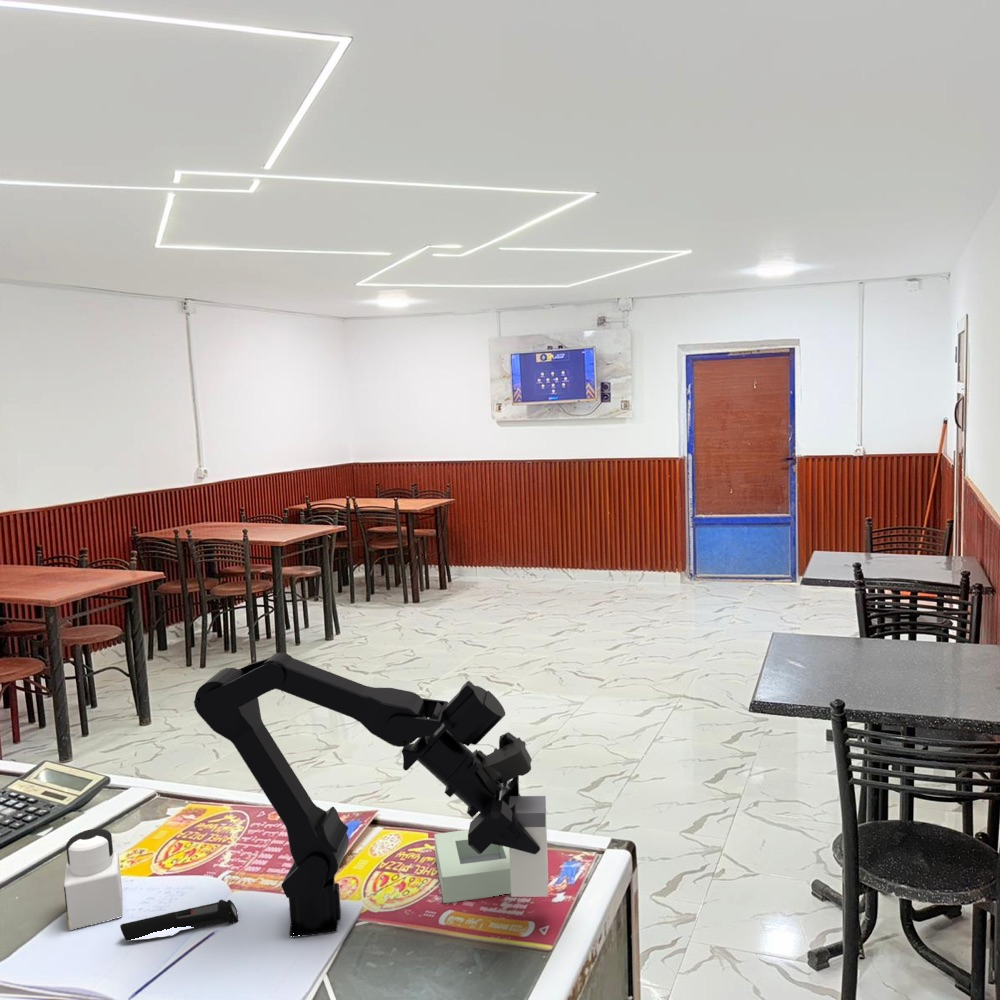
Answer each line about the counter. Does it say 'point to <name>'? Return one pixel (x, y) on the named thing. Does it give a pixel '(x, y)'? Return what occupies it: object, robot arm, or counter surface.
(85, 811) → the counter surface
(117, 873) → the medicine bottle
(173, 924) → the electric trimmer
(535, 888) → the white plug block
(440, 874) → the sage block
